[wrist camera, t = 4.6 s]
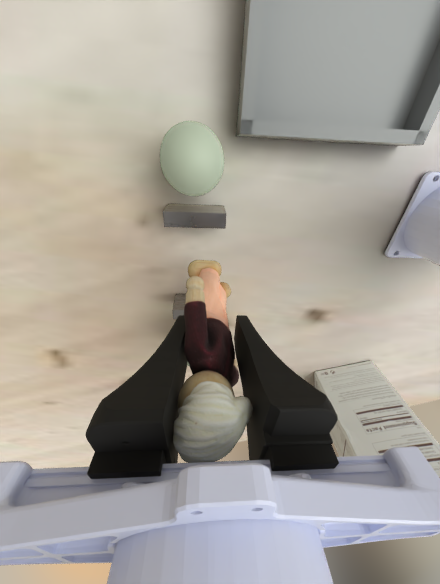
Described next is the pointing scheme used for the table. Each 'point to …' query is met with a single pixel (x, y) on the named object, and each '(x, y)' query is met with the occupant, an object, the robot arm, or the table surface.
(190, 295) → the grandmother figurine
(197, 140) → the pale green rounded block
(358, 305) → the table surface
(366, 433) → the supplement box
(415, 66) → the tray
